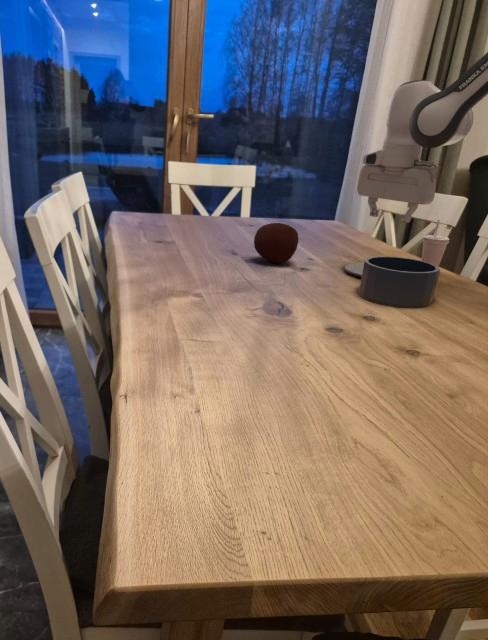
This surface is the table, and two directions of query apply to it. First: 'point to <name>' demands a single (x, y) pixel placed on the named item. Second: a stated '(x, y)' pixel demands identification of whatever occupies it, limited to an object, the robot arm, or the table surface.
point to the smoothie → (434, 247)
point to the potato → (276, 242)
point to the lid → (355, 269)
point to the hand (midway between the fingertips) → (389, 219)
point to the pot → (398, 281)
